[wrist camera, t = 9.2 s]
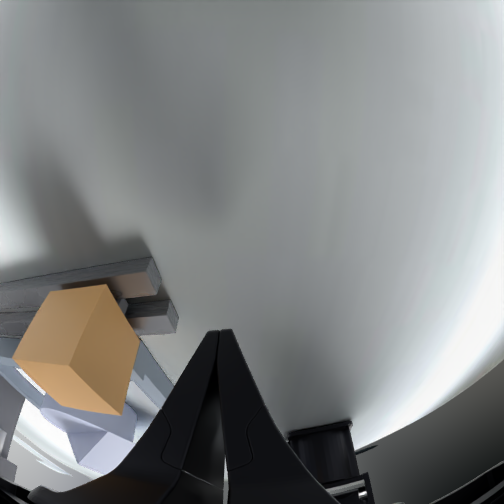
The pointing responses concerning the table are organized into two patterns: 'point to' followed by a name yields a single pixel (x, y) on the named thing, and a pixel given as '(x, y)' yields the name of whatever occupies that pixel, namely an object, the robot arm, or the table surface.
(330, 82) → the table surface
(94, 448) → the wedge on round base
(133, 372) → the press bed
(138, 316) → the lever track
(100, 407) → the tan wooden cube
